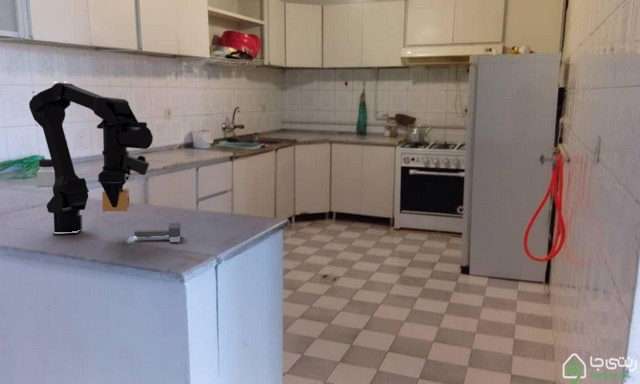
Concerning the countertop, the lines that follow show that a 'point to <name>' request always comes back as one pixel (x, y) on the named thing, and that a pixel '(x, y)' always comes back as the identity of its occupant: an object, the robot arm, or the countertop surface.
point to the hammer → (160, 231)
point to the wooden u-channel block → (122, 201)
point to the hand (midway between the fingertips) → (116, 204)
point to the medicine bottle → (46, 173)
